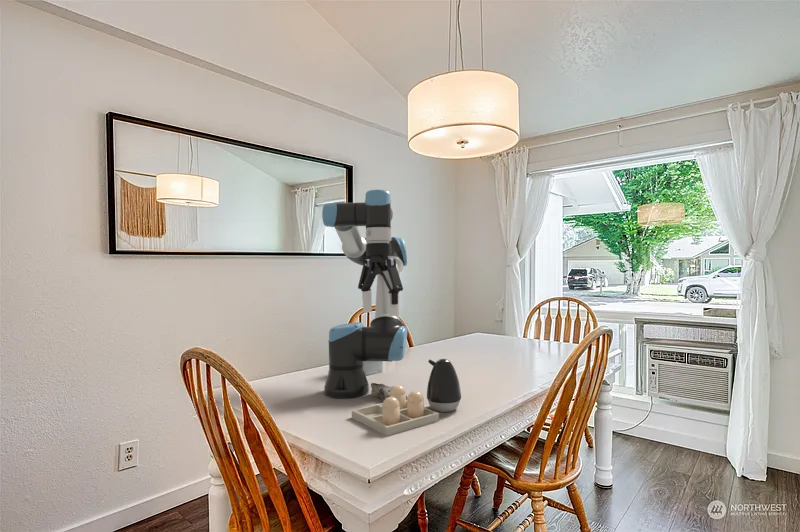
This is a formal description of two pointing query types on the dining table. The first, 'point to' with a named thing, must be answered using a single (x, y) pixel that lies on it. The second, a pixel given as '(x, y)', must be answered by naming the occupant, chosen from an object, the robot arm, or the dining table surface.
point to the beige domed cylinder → (399, 395)
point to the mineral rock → (381, 391)
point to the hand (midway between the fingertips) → (379, 314)
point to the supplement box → (372, 367)
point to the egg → (390, 411)
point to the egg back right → (415, 405)
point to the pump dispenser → (443, 387)
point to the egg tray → (374, 420)
